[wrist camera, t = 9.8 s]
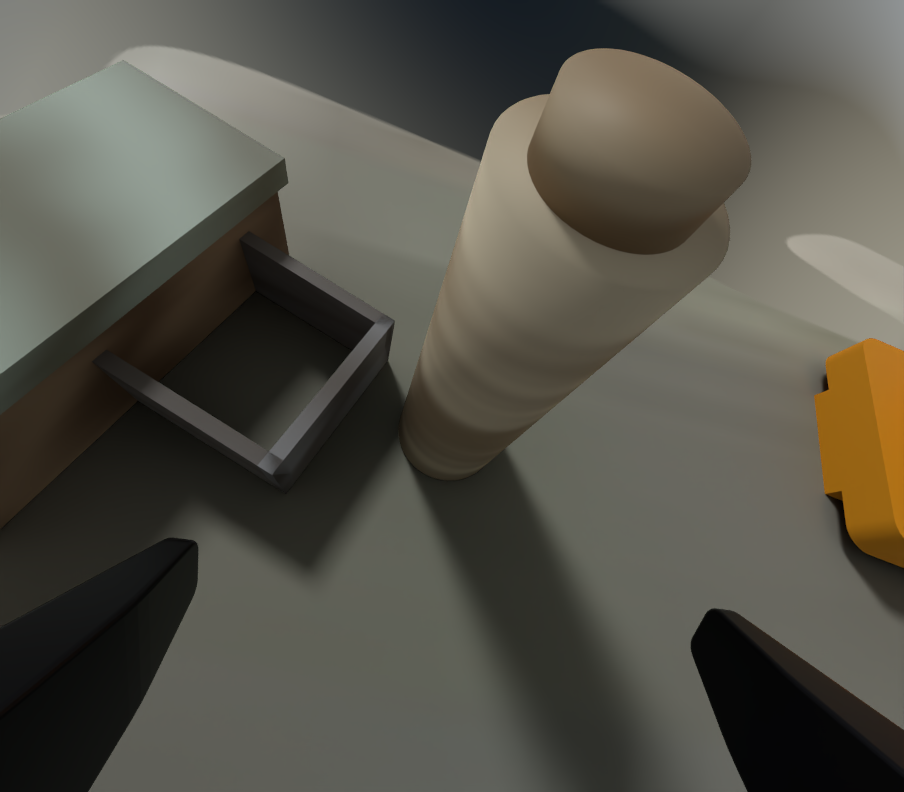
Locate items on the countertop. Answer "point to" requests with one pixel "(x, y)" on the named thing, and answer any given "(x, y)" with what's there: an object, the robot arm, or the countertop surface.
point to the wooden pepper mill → (570, 249)
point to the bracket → (866, 444)
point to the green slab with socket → (145, 276)
